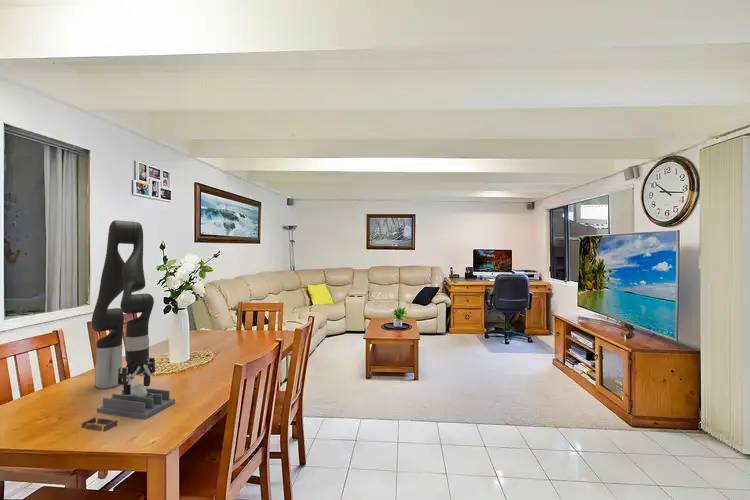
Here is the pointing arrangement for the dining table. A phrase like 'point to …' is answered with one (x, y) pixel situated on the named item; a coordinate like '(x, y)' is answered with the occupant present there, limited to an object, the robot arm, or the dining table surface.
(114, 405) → the rack
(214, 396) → the dining table surface
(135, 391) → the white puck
